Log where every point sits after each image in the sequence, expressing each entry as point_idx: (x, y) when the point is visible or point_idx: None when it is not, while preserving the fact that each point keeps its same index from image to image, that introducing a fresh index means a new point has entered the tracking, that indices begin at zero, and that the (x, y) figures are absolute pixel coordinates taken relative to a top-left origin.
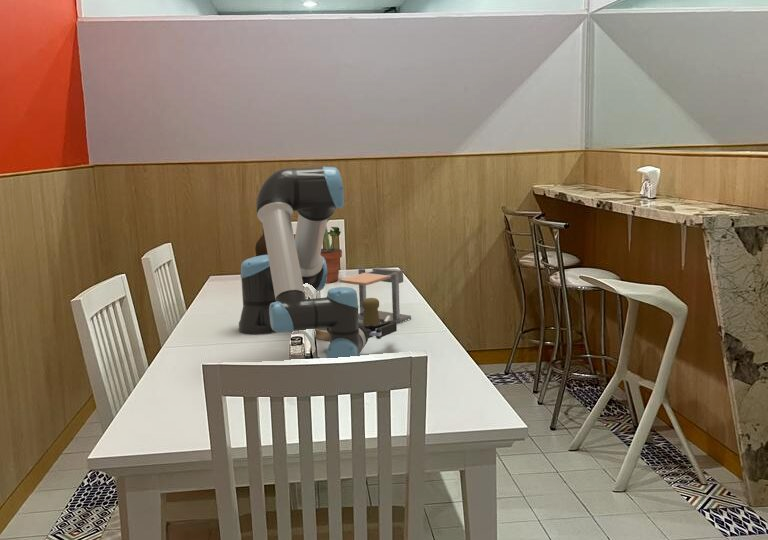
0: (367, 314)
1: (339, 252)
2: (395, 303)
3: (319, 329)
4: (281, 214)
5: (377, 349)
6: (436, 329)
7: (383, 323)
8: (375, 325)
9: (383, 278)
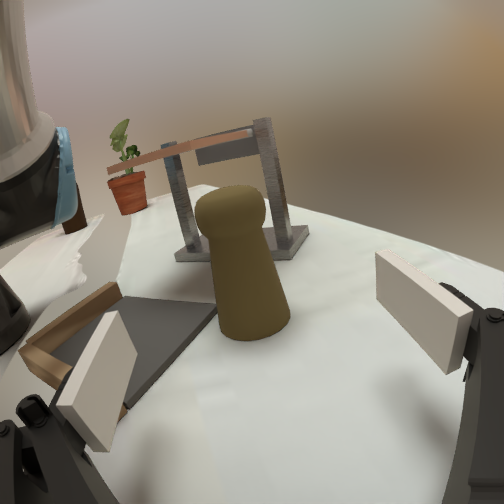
0: (228, 259)
1: (141, 172)
2: (279, 201)
3: (62, 362)
4: None
5: (402, 489)
6: (417, 248)
7: (502, 355)
8: (502, 440)
9: (236, 133)
